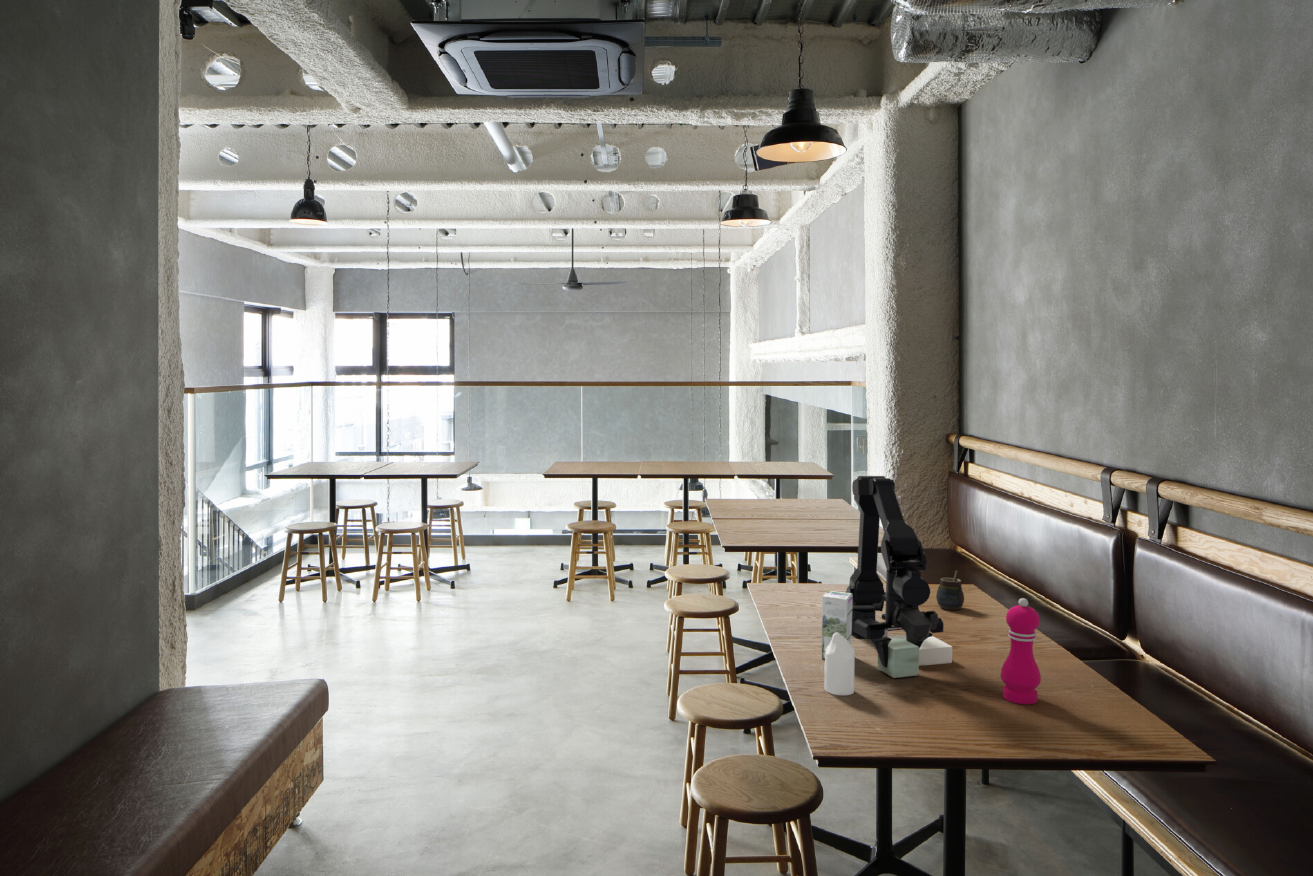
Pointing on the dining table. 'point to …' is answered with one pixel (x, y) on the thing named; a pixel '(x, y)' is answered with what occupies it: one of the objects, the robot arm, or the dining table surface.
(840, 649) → the white bottle
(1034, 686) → the pepper mill
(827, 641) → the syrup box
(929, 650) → the cream block
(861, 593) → the robot arm
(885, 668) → the green cube
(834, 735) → the dining table surface
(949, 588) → the mate gourd
